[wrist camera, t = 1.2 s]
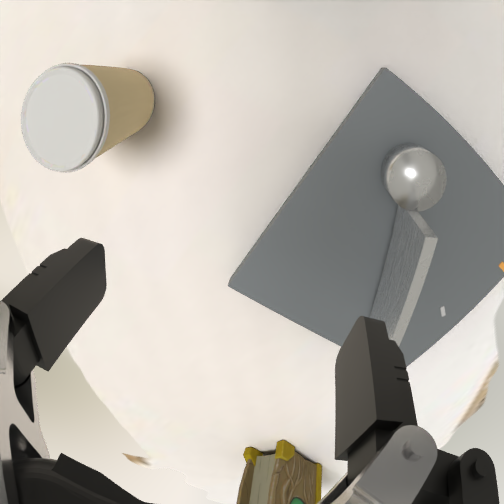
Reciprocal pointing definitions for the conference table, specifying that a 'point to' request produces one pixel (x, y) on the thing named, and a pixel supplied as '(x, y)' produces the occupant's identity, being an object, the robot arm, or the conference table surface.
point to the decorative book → (279, 478)
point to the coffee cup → (83, 113)
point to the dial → (408, 233)
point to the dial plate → (378, 226)
